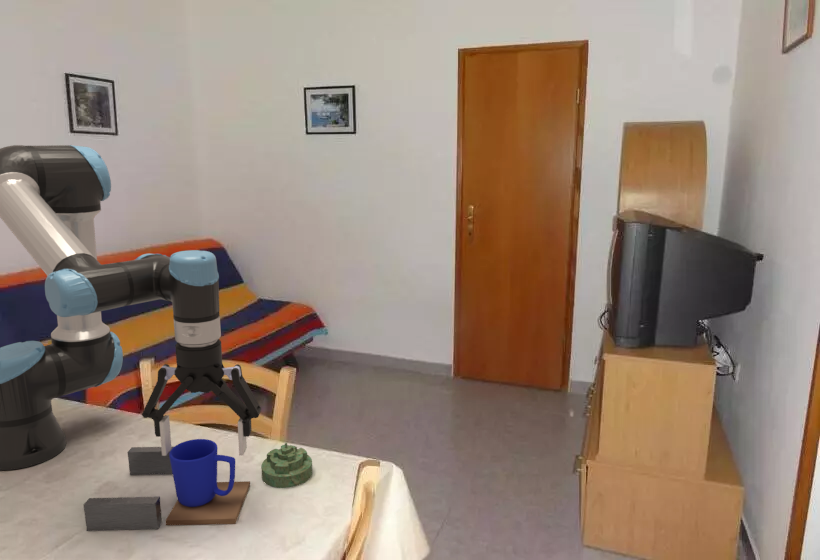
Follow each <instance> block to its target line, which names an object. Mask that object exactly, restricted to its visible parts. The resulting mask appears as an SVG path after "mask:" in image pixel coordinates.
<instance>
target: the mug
mask: <svg viewBox="0 0 820 560" xmlns="http://www.w3.org/2000/svg"><path fill="white" fill-rule="evenodd" d="M172 447H173V448H172V449H171V451H170V453H169V456H170V462H171V467H172V473H173V474H172V478H173V482H174V483H173V484H174V488H175V493H176V494H175V495H176V498H177V500H178V501H179V502H180V503H181V504H182V505H184V506H187V507H197V506H201V505H204V504H206V503H208V502H210V501H211V500H212V499H213V498H214V496H215V494H217V495H219V496H225V495H227V494H229V493H230V492H231V490H232V488H233V485H234V482H235V476H236V458H235V457H233V456H230V455H223V454H218V445H217V443H216V442H215V441H213V440H210V439H207V438H206V439H205V438H195V439H190V440H186V441H183V442H181V443H177V444H176V445H175V446H172ZM218 462H225V463H228V464H229V480H228V482H229V486H228V489H227V490H225V491H223V490H220V489H219V488H218V487H217V482H218Z"/></svg>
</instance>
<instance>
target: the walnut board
mask: <svg viewBox="0 0 820 560" xmlns="http://www.w3.org/2000/svg"><path fill="white" fill-rule="evenodd" d="M228 486H229V481H217V487H218V488H219V489H220V490H223V491H225V490H227V489H228ZM250 487H251V481H248V480H247V481H234V485H233V488H232V490H231V492H230V493H229V494H227V495H225V496H219V495H217V494H215V496H214V498H213V499H212V500H211V501H210V502H208V503H206V504H204V505H201V506H197V507H187V506H184V505H182V504H181V503H180V502H179V501H178V499H177V500H176V501H175V503H174V505H173V507H172V509H171V510H170V512H169V514H168V515H167V517H166V519H165V526H197V525H199V526H201V525H204V526H206V525H237V524H236V523H237V521H238V519H239V516H240V513H241V511H242V508H243V506H244V503H245V501H246V498H247V495H248V493H249V490H250Z"/></svg>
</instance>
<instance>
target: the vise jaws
mask: <svg viewBox="0 0 820 560" xmlns="http://www.w3.org/2000/svg"><path fill="white" fill-rule="evenodd" d="M173 447H174V446H171V449H172V448H173ZM171 449H170V451H171ZM170 451H169V452H168V454H167V455H166V456H162V449H161V446H137V447H136V446H132V447H130V449H129V450H127V459H128V461H127V462H128V467H129V468H128V469H129V470H128V471H129V475H130V476H134V475H135V476H139V475H141V476H144V475H147V476H148V475H173V473H172V467H171V462H170V456H169V453H170ZM83 511H84V519H85V527H86V532H92V531H94V532H98V531H100V532H101V531H103V532H104V531H138V530H141V531H142V530H159V528H160V526H161V525H162V523H163V520H162V519H163V518H162V506H161V498H160V496H131V497H129V496H127V497H126V496H125V497H124V496H123V497H119V496H118V497H89V498H88V499H87V500H86V501H85V502H84V504H83Z"/></svg>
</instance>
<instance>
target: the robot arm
mask: <svg viewBox="0 0 820 560" xmlns="http://www.w3.org/2000/svg"><path fill="white" fill-rule="evenodd" d="M111 192H112V180H111V174H110V172H109V170H108V167H107V164H106V163H105V160H104V159H103V158H102V156H101V155H100V153H98V152H97V151H96V150H94V148H91V147H89V146H82V145H72V144H70V145H69V144H66V145H65V144H62V145H61V144H60V145H59V144H57V145H53V144H52V145H22V144H14V145H8V146H4V147H0V219H1V220H2V221H3V223H4V224H5V225H6V227H7V228H8V229H9V230H10V231H11V233H13V235H14V236H15V238H16V239H17V240H18V241H19V242H20V244H21V245H22V247H23V248H24V249H25V250H26V251H27V252H28V254H29V255H30V256H31V257H32V259H34V261H35V263H36V264H37V265H38V267H40V269H41V270H42V271H43V272H44V273H45V275H46V279H45V281H44V293H45V294H44V295H45V298H46V301H47V302H48V305H49V308H50V310H51V312H53V313H54V314H55V315H56V319H57V326H56V327H55V328H54V330H52V332H51V333H50V339H51V344H47V345H44V344H43V342H41V341H38V340H26V341H23V342H22V341H19V342H14V343H11V344H7V345H4V346H1V347H0V471H10V470H19V469H24V468H28V467H33V466H36V465H39V464H41V463H43V462H47V461H49V460H50V459H53V458H54V457H56V456H57V455H59V454H60V453H61V452H63V451H64V449H65V448H66V446H67V442H66V434H65V432H64V430H63V429H62V427H61V425H60V423H59V421H58V420H57V418H56V416H55V415H54V412H53V406H52V400H53V399H56V398H60V397H64V396H67V395H70V394H74V393H76V392H81V391H83V390H84V391H85V390H87V389H92V388H97V387H99V386H102V385H103V384H107V383H109V382H111V381H113V380H114V379H116V377H118V375H119V374H120V372H121V370H122V366H123V358H124V355H123V354H124V353H123V352H124V351H123V348H122V347H123V346H121V341H120V339H119V336H118V335H117V334H116V333H114V332H113V331H111V329H110V326H109V325H107V324H105V323H104V322H103V321H102V320H103V319H102V312H103V311H109V310H112V309H118V308H121V307H122V308H123V307H128V306H133V305H138V304H142V303H147V302H153V301H157V300H163V301H166V302H170V303H171V305H172V313H173V314H172V315H173V316H172V317H173V328H174V329H173V331H174V332H173V333H174V340H175V342H176V344H175V360H176V367H174V366H170V365H169V364H168V363H165V364H163V365H162V366H161V367H160V368H159V369H158V371H157V381H156V384H155V385H154V388H153V390H152V391H151V395H150V396H149V399H148V400H147V403H146V405H145V406H144V409H143V411H142V412H141V417H143V418H144V419H147V418H149V419H151V420H153V425H154V435H155V437H157V438H158V437H160V447H161V449H162V456H166V455H167V454H168V452H169V451H170V449H171V447H172V438H171V425H170V424H171V423H170V415H168V414H167V415H166V413H167V411H168V410H169V409H171V407H172V406H173V405H174V404H175V403H176V401H177V400H178V399H179V398H180V397H181V396H182V395H183V393H184V392H185V391H186V390H187V391H189V392H190V393H192V394H194V393H195V394H196V393H204V394H209V393H210V392H212V393H213V394H215V396H217V397H219V398H220V399H221V400H222V401H223V402H224V403H225V404H226V405H227V406H228V408H230V409H231V410H232V411H233V412H234V413H235V414H236V415H237V416H238V417H239V419H238V421H237V433H238V434H237V436H238V455H239V456H244V455H245V453H246V451H247V446H248V445H247V442H248V441H247V438H248V437H250V434H251V432H252V430H253V429H252V419H257V418H259V416H260V413H261V412H262V406H261V405H260V404H259V402H258V401H257V398H256V397H255V395H254V393H253V391H252V390H251V388H250V387H249V385H248V382H246V380H245V379H246V378H244V376H243V372H242V371H243V369H242V366H241V364H235V365H234V366H231V367H229V366H228V367H225V366H224V364H223V354H222V353H223V350H222V349H223V348H222V340H220V338H221V336H222V333H221V318H220V317H221V316H220V287H219V286H220V285H219V279H220V275H219V272H218V265H217V258H216V255H215V254H214V253H212V251H211V252H210V251H209V250H208V251H207V250H197V249H196V250H195V249H194V250H191V249H190V250H181V251H177V252H174V253H172V254H171V255H170V256H167V255H166V254H162V253H144V254H141V255H139V256H138V257H136V258H135V259H133V260H127V261H119V262H112V263H110V262H109V263H105V264H101V263H100V261H98V257H97V256H98V255H97V245H96V244H97V243H96V233H95V232H96V231H95V229H96V228H95V220H94V219H95V217H96V216H97V215H98V214H100V212H101V211H102V208H101V207H102V206H101V202H104V201H105V200H108V198H109V197H110V195H111ZM173 376H174V377H175V378H176V379H177V380H178V382H180V384H179V386H178V387H177V388H176V389H175V390H174V391H173V392H172V394H171V395H170V396H169V397H168V398H167V400H166V401H164V403H163V404H162V405H161V407H159V409H157V408H156V406H157V405H158V402H159V400H160V398H161V396H162V394H163V392H164V390H165V387H166V385H167V383H168V381H169V380H171V378H172V377H173ZM224 376H227V378H228V379H229V380H230V381H232V384H233V386H234V387H235V389H236V391H237V392H238V394H239V396H240V398H241V399H242V400H241V399H240V398H239V397H238V396H237V395H236V393H235V392H234V391H232V390H231V388H230V387H229V386H228V385H227V382H226V381H225V380H224V379H223V378H224Z"/></svg>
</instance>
